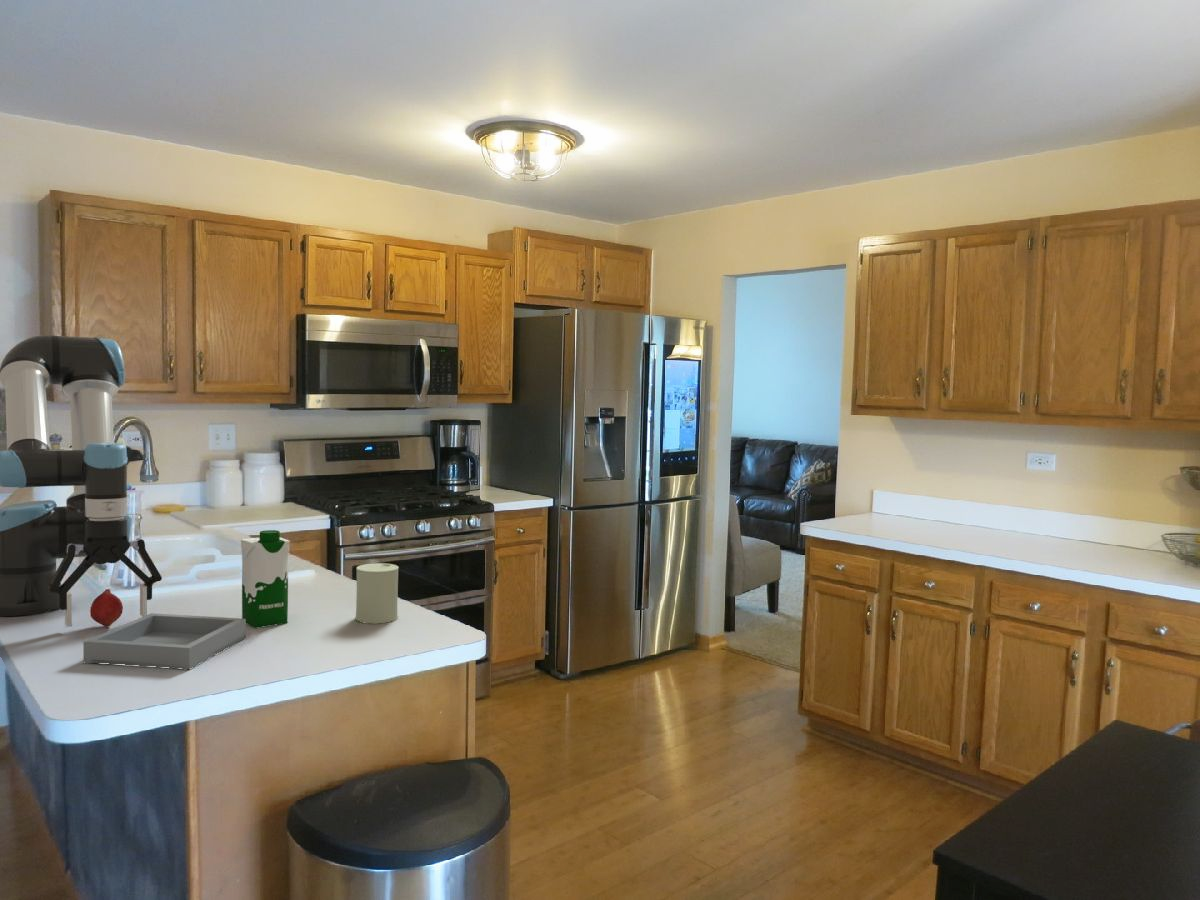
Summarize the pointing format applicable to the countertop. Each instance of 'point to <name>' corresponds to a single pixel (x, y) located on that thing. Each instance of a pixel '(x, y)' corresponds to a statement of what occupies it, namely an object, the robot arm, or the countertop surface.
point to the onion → (106, 608)
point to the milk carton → (265, 579)
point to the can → (377, 593)
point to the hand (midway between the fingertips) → (106, 620)
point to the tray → (165, 641)
